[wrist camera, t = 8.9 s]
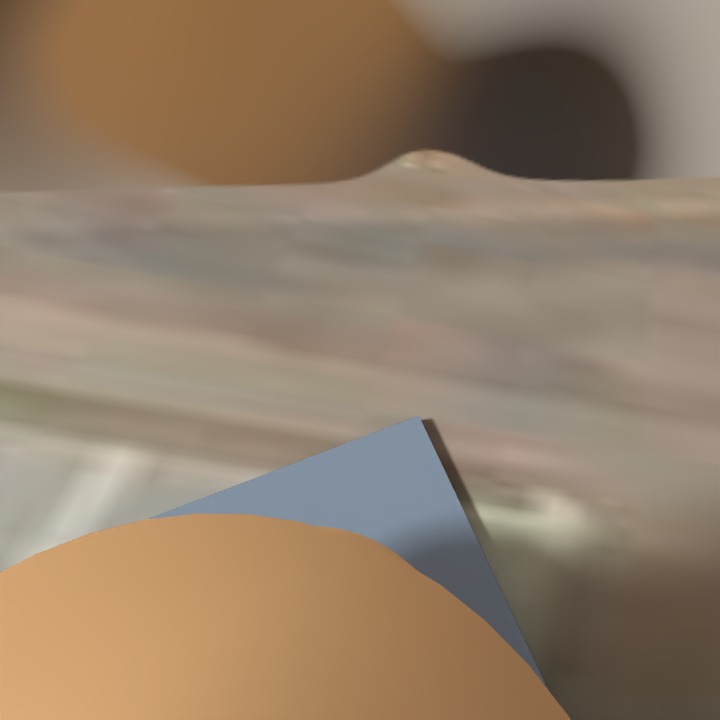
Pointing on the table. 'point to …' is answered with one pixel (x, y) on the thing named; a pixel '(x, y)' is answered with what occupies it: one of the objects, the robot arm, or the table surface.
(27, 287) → the table surface
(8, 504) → the table surface
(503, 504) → the table surface
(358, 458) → the mat
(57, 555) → the joystick handle
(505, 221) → the table surface
